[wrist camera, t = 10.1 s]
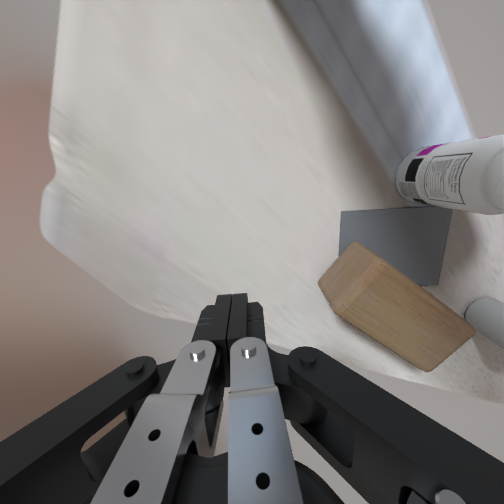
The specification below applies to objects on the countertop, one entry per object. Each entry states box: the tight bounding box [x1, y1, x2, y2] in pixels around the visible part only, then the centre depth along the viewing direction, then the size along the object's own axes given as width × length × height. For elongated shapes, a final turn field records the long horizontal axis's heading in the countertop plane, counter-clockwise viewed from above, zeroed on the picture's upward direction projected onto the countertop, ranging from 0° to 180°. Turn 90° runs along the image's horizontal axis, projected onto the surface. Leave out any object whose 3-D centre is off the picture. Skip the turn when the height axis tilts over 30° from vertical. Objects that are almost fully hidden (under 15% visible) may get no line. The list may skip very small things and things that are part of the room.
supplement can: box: [396, 135, 504, 215], centre depth 32 cm, size 8×8×15 cm
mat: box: [339, 206, 452, 286], centre depth 42 cm, size 14×18×1 cm
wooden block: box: [318, 242, 476, 372], centre depth 40 cm, size 10×10×20 cm
